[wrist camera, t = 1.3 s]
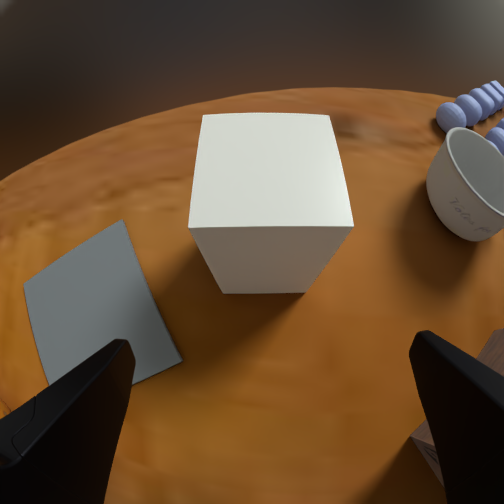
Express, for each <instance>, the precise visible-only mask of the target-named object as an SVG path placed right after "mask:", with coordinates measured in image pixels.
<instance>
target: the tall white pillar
mask: <svg viewBox="0 0 504 504" xmlns="http://www.w3.org/2000/svg"><path fill="white" fill-rule="evenodd" d="M353 227H354V225H353V219H352V213H351V208H350V202H349V197H348V192H347V187H346V182H345V178H344V173H343V169H342V164H341V160H340V156H339V152H338V148H337V144H336V140H335V136H334V132H333V129H332V125H331V121H330V118H329V116H328V115H315V114H296V113H233V114H213V115H203V119H202V125H201V131H200V137H199V144H198V151H197V158H196V165H195V172H194V180H193V188H192V197H191V205H190V215H189V225H188V228H189V230H190V232H191V234H192V236H193V238H194V240H195V242H196V244H197V246H198V248H199V250H200V252H201V254H202V256H203V257H204V259H205V261H206V263H207V265H208V267H209V269H210V271H211V273H212V274H213V276H214V278H215V280H216V282H217V284H218V286H219V287H220V289H221V291H222V293H223V294H254V293H304V292H307V290H308V289H309V288H310V286H311V285H312V284H313V282H314V281H315V280H316V278H317V277H318V276H319V274H320V273H321V272H322V270H323V269H324V268H325V266H326V265H327V264H328V262H329V261H330V259H331V258H332V257H333V255H334V254H335V252H336V251H337V250H338V248H339V247H340V245H341V244H342V243H343V241H344V240H345V238H346V237H347V236H348V234H349V233H350V231H351V230H352V228H353Z"/></svg>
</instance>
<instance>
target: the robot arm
mask: <svg viewBox="0 0 504 504" xmlns="http://www.w3.org/2000/svg"><path fill="white" fill-rule="evenodd" d="M409 358H410V362H411V366H412V370H413V374H414V378H415V382H416V386H417V390H418V394H419V397H420V400H421V403H422V406H423V409H424V412H425V415H426V419H427V422H428V425H429V428H430V432H431V435H432V439H433V442H434V446H435V449H436V453H437V457H438V461H439V465H440V469H441V474H442V478H443V483H444V488H445V492H446V499H447V504H504V376H502V375H501V374H499V373H497V372H496V371H494V370H493V369H491V368H490V367H488V366H486V365H485V364H483V363H482V362H480V361H478V360H477V359H475V358H474V357H472V356H470V355H469V354H467V353H465V352H464V351H462V350H461V349H459V348H457V347H456V346H454V345H452V344H451V343H449V342H447V341H446V340H444V339H442V338H441V337H439V336H437V335H436V334H434V333H433V332H431V331H429V330H425V331H419V332H418V333H417V334H416V335H415V338H414V340H413V343H412V345H411V348H410V350H409ZM135 366H136V359H135V356H134V353H133V351H132V348H131V345H130V343H129V341H128V340H126V339H119V338H116V339H114V340H112V341H111V342H110V343H108V344H107V345H105V346H104V347H103V348H101V349H100V350H98V351H97V352H96V353H94V354H93V355H91V356H90V357H89V358H87V359H86V360H84V361H83V362H82V363H80V364H79V365H77V366H76V367H75V368H73V369H72V370H70V371H69V372H68V373H66V374H65V375H63V376H62V377H61V378H59V379H58V380H56V381H55V382H54V383H52V384H51V385H50V386H48V387H47V388H45V389H44V390H43V391H41V392H40V393H38V394H37V395H36V396H34V397H33V398H31V399H30V400H29V401H27V402H26V403H24V404H23V405H22V406H20V407H19V408H17V409H16V410H14V411H12V412H11V413H9V414H8V415H6V416H4V417H3V418H1V419H0V504H104V499H105V494H106V489H107V485H108V480H109V476H110V471H111V467H112V463H113V459H114V455H115V451H116V447H117V443H118V439H119V436H120V432H121V428H122V425H123V421H124V418H125V414H126V411H127V407H128V403H129V398H130V392H131V387H132V381H133V376H134V371H135Z"/></svg>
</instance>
